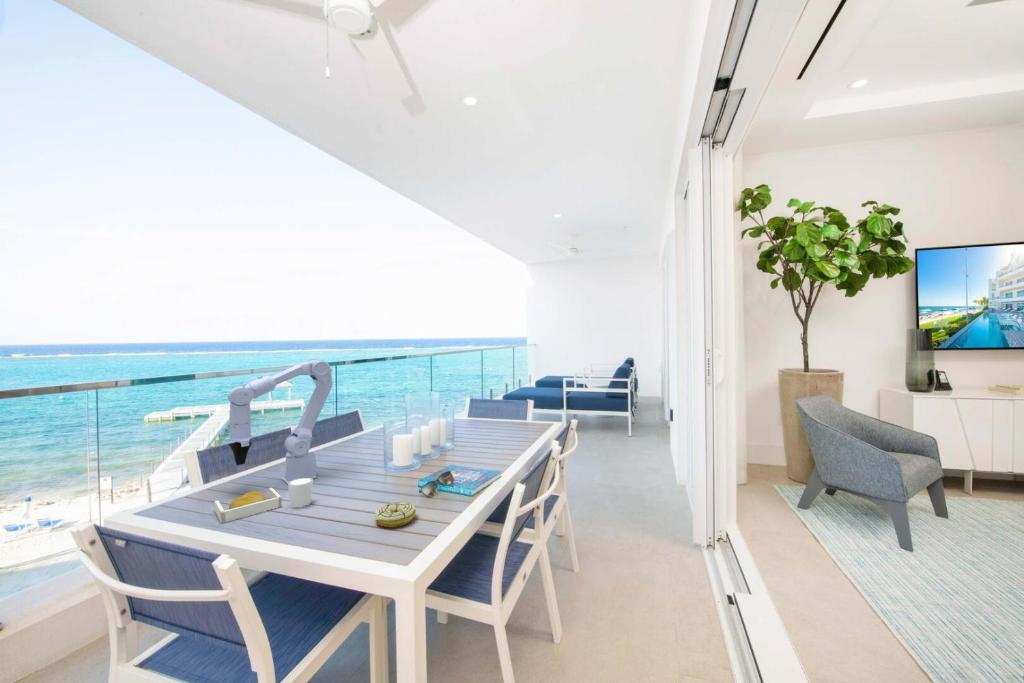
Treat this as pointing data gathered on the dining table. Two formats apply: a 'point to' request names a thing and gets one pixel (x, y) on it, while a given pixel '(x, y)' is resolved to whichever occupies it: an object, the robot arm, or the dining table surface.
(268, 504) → the tray
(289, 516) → the dining table surface
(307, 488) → the white short cylinder
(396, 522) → the decorated donut
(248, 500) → the bread roll
